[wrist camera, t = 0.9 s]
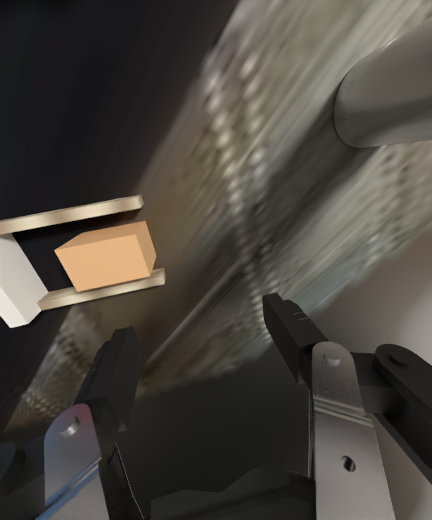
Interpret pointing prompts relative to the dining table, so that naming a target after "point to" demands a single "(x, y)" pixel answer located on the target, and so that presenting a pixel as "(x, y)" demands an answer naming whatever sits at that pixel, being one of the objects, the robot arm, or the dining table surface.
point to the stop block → (18, 284)
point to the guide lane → (78, 213)
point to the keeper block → (108, 256)
